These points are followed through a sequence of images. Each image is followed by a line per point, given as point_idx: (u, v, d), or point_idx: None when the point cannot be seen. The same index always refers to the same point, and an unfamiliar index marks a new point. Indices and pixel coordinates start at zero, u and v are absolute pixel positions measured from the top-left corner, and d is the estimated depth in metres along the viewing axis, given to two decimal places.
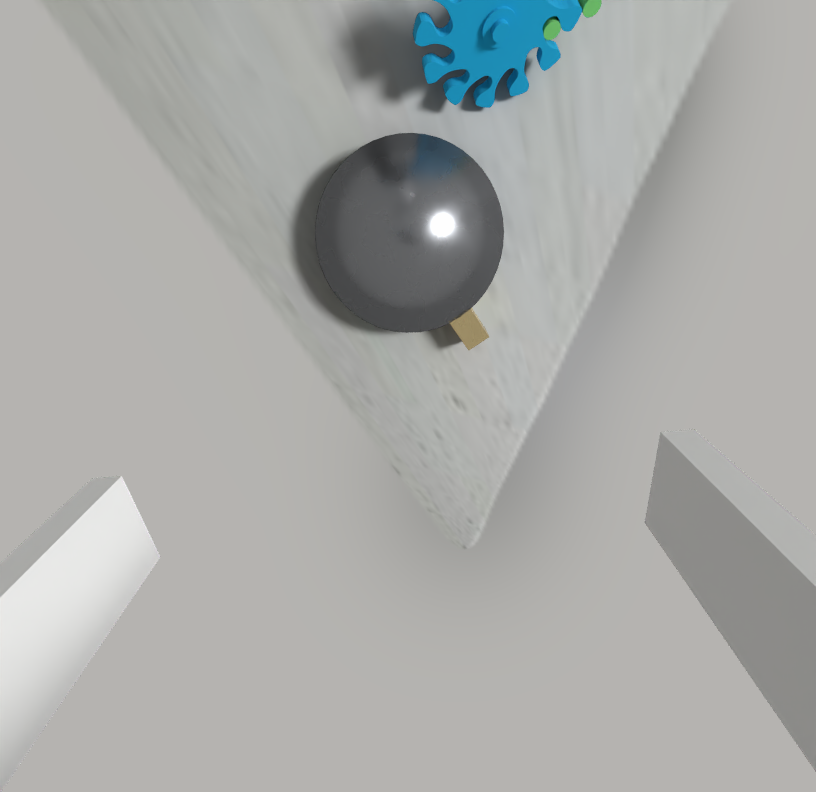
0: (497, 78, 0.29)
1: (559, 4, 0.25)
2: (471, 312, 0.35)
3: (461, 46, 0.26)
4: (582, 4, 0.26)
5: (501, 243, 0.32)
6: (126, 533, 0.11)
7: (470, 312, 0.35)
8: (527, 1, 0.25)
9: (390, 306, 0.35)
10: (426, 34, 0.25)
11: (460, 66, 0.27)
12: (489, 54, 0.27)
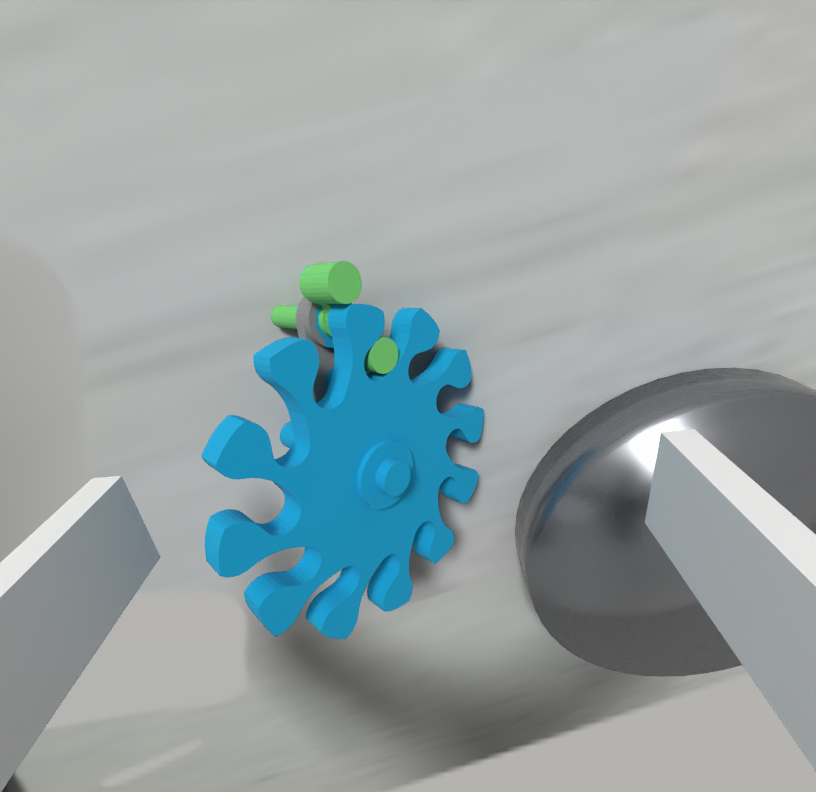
0: (449, 422, 0.15)
1: (343, 355, 0.12)
2: None
3: (410, 522, 0.14)
4: (340, 303, 0.11)
5: (783, 401, 0.14)
6: (126, 533, 0.11)
7: None
8: (347, 441, 0.12)
9: None
10: (398, 591, 0.14)
11: (434, 503, 0.15)
12: (419, 462, 0.14)
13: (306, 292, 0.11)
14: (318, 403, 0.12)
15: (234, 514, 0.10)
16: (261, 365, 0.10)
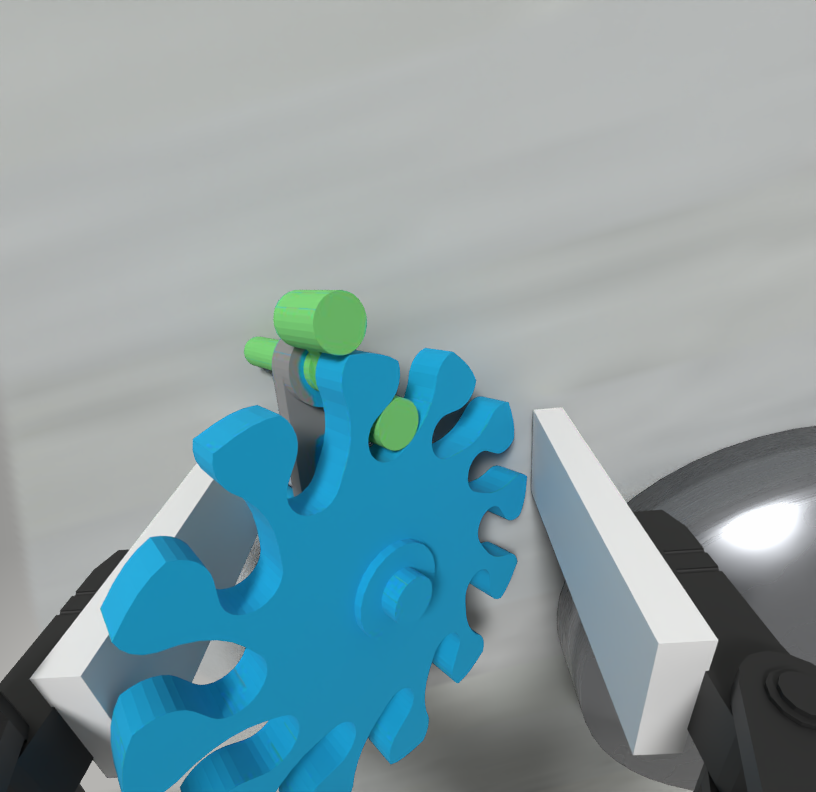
0: (483, 500, 0.11)
1: (337, 428, 0.08)
2: None
3: (428, 640, 0.10)
4: (333, 353, 0.07)
5: None
6: None
7: None
8: (341, 554, 0.08)
9: None
10: (410, 733, 0.10)
11: (461, 608, 0.11)
12: (443, 560, 0.10)
13: (283, 333, 0.08)
14: (299, 497, 0.08)
15: (157, 692, 0.06)
16: (202, 459, 0.06)
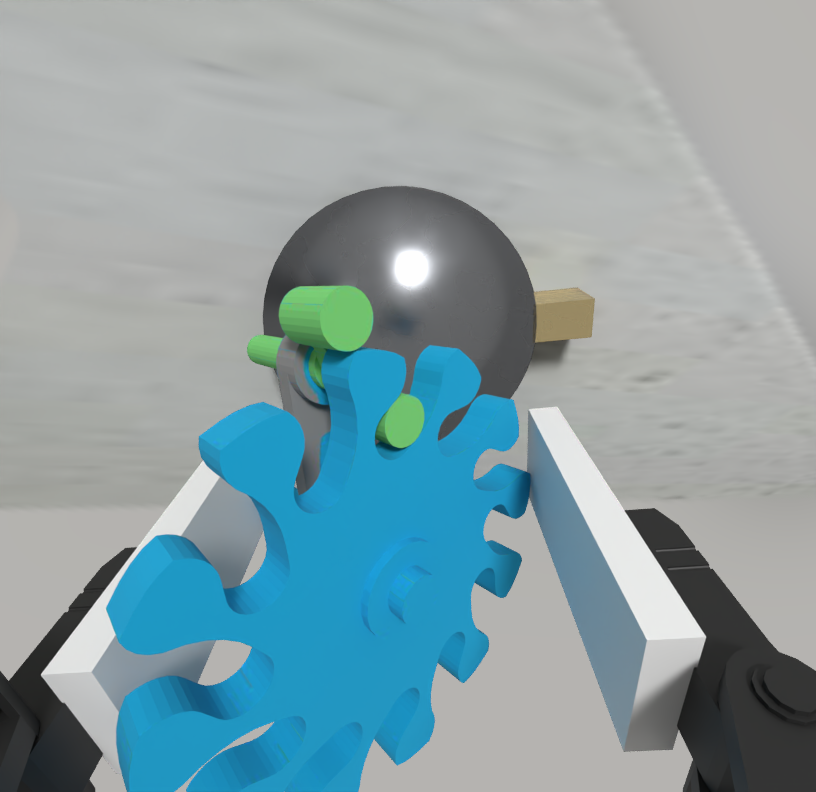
0: (488, 498, 0.11)
1: (343, 425, 0.08)
2: (542, 305, 0.22)
3: (434, 639, 0.10)
4: (339, 350, 0.07)
5: (475, 212, 0.20)
6: None
7: (541, 306, 0.22)
8: (348, 553, 0.08)
9: None
10: (416, 733, 0.10)
11: (466, 607, 0.11)
12: (449, 559, 0.10)
13: (288, 330, 0.07)
14: (305, 495, 0.08)
15: (164, 692, 0.06)
16: (209, 456, 0.06)
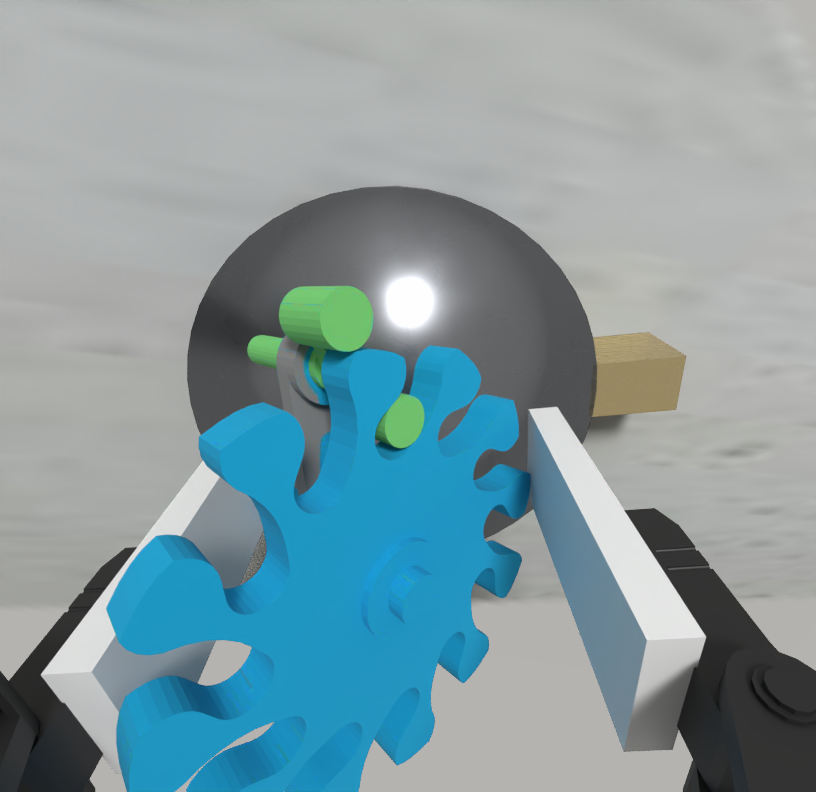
0: (488, 498, 0.11)
1: (343, 426, 0.08)
2: (605, 365, 0.14)
3: (434, 640, 0.10)
4: (339, 350, 0.07)
5: (511, 228, 0.13)
6: None
7: (605, 367, 0.14)
8: (347, 553, 0.08)
9: None
10: (416, 733, 0.10)
11: (466, 608, 0.11)
12: (449, 559, 0.10)
13: (288, 330, 0.07)
14: (305, 496, 0.08)
15: (163, 693, 0.06)
16: (209, 457, 0.06)
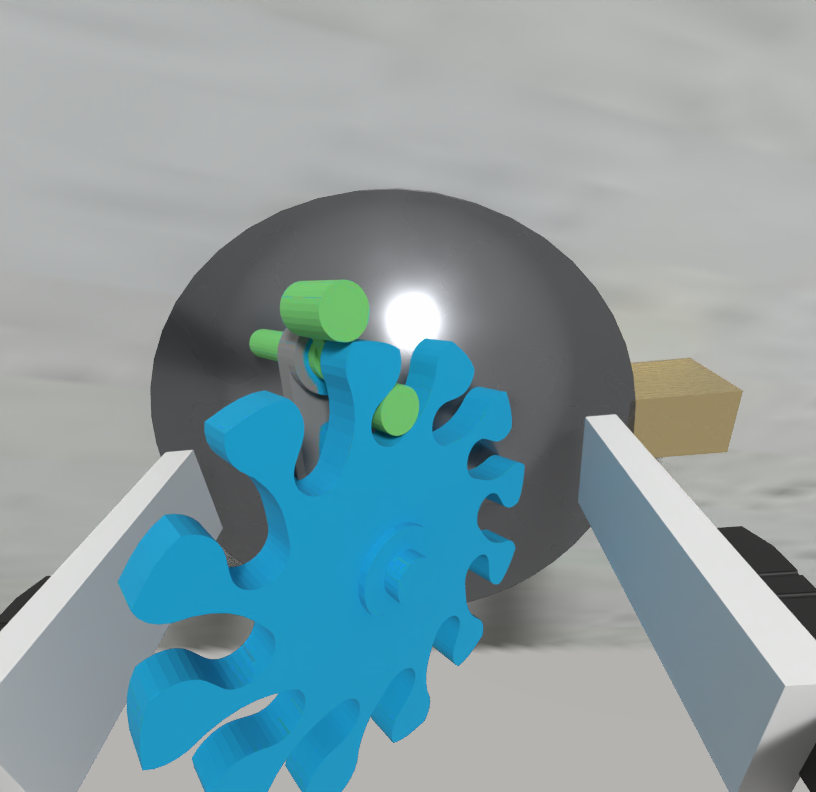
0: (482, 487, 0.11)
1: (341, 413, 0.08)
2: (646, 401, 0.12)
3: (429, 622, 0.11)
4: (338, 341, 0.08)
5: (537, 240, 0.10)
6: (197, 503, 0.11)
7: (645, 403, 0.12)
8: (345, 535, 0.08)
9: None
10: (412, 712, 0.11)
11: (461, 593, 0.11)
12: (443, 544, 0.10)
13: (289, 322, 0.08)
14: (305, 480, 0.08)
15: (171, 663, 0.07)
16: (214, 440, 0.07)
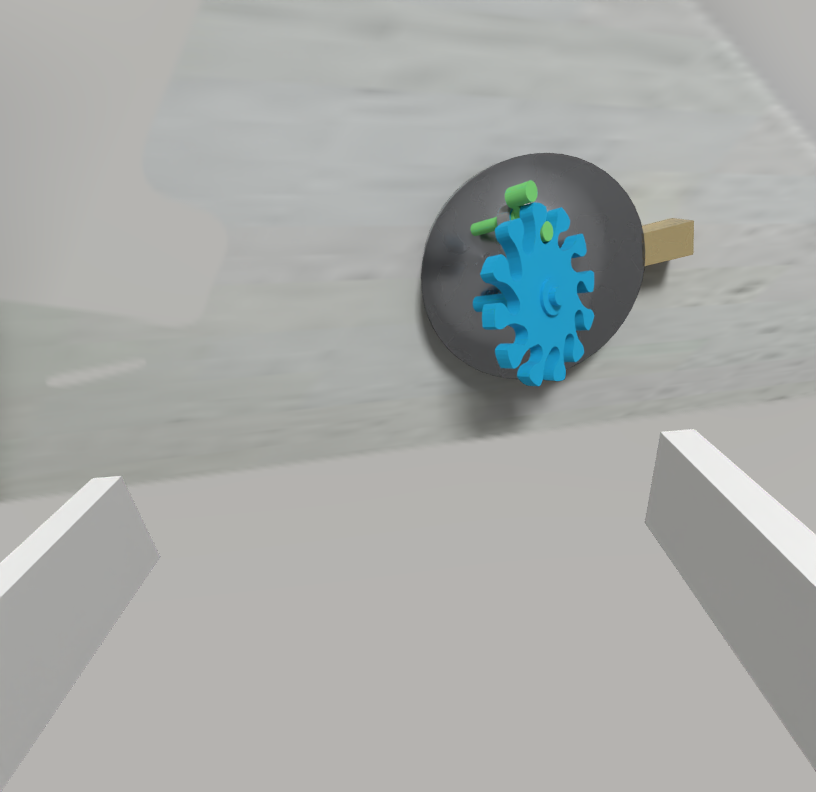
0: (577, 276, 0.26)
1: (528, 231, 0.23)
2: (648, 233, 0.26)
3: (563, 330, 0.25)
4: None
5: (589, 165, 0.25)
6: (126, 533, 0.11)
7: (648, 234, 0.26)
8: (535, 274, 0.23)
9: None
10: (559, 370, 0.25)
11: (573, 324, 0.26)
12: (565, 296, 0.25)
13: (509, 200, 0.23)
14: None
15: (494, 303, 0.22)
16: (501, 231, 0.22)
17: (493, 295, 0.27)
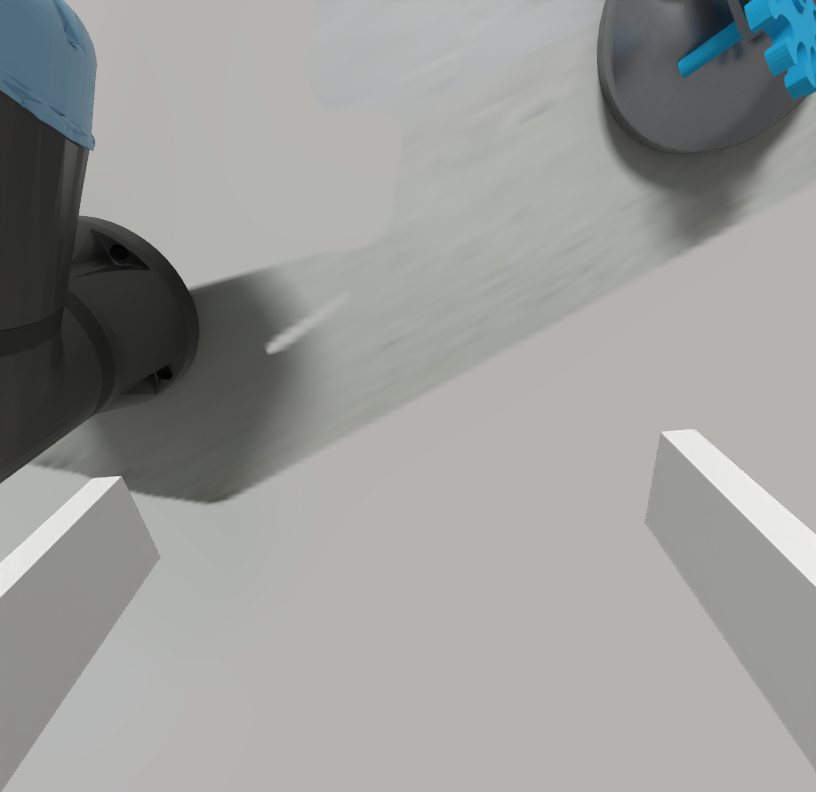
0: None
1: None
2: None
3: (811, 30, 0.23)
4: None
5: None
6: (126, 533, 0.11)
7: None
8: None
9: None
10: None
11: (815, 24, 0.23)
12: None
13: None
14: None
15: None
16: None
17: (706, 42, 0.25)
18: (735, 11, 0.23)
